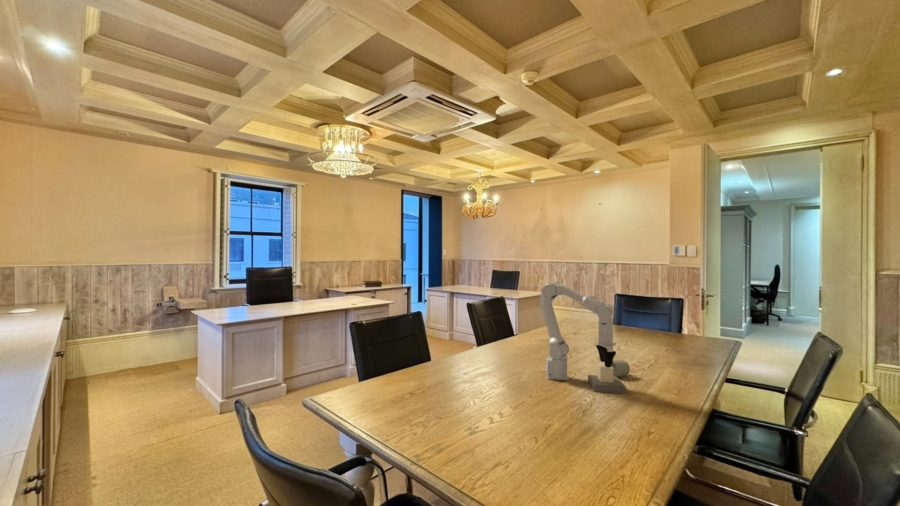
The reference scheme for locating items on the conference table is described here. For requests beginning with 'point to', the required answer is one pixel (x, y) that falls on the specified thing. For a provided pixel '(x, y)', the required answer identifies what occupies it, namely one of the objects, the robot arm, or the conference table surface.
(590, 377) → the gray plinth
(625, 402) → the conference table surface
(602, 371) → the cream block
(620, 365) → the ceramic mug
